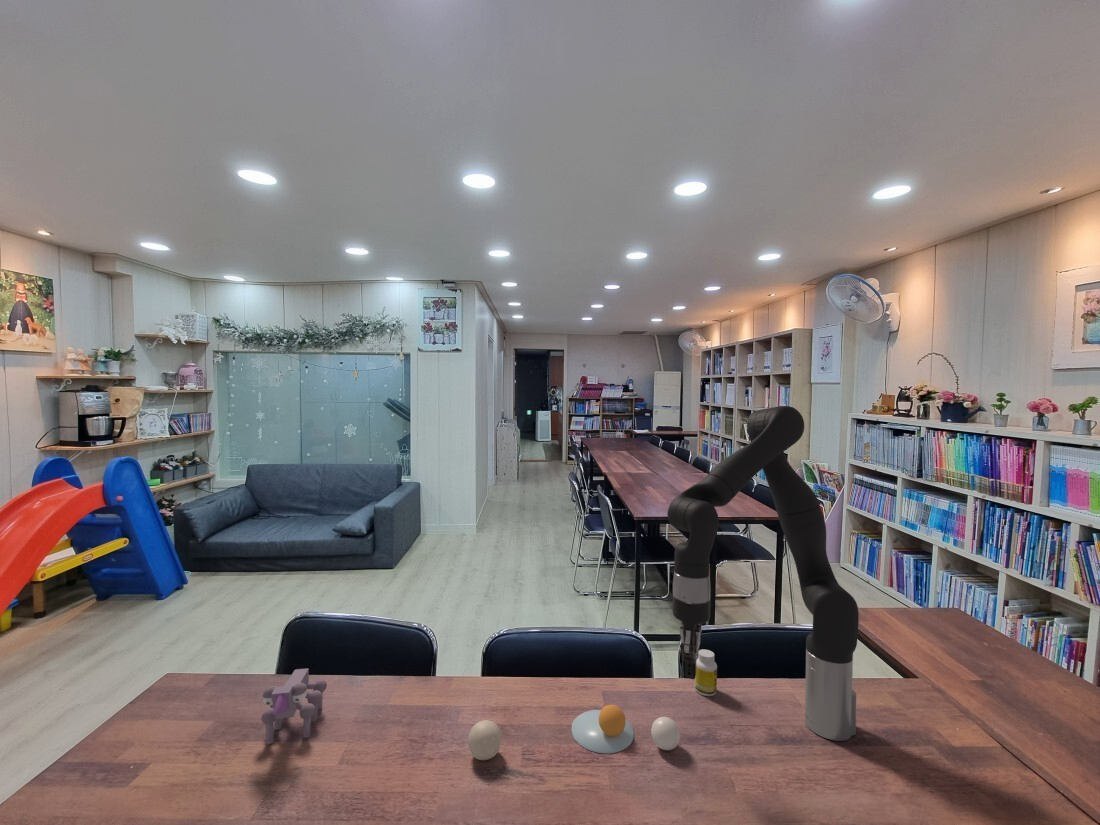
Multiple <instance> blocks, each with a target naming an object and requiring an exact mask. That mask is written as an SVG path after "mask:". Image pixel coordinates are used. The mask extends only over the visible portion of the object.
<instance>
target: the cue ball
mask: <svg viewBox="0 0 1100 825" xmlns="http://www.w3.org/2000/svg"><path fill="white" fill-rule="evenodd" d="M650 731H651V733H650V734H651V738H652V740H653V742H654V744H655V745H656V746H657V747H658V748H659V749H661V750H664V751H672V750H674V749H675V748H676V747H677V746H678V745H679V742H680V739H681V734H680V728H679V727H678V725H677V723H676V722H675V721H674V720H673V719H672V718H670V717H668V716H660V717H658V718H655V720H654V721H653V723H652V725H651V730H650Z"/></svg>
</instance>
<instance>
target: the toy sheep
mask: <svg viewBox="0 0 1100 825" xmlns="http://www.w3.org/2000/svg"><path fill="white" fill-rule="evenodd" d="M309 670H310V669H309V668H296V669H294V670H293V672H292V673H291V675H290V677H289V679H288V680H287V682H286V683H284V684H283V685H281V686H276V685H269V686H268V687H267V688H266V689H264V691H263V693H262V701H263V702H262V703H264V705H266V706H269V708H267V709H265V710H264V711H263V712H262V714H261V721H262V723H263V724H264V725H265V737H266V738H265V739H266V741H265V742H266V743H265V744H266V745H271V744H273V743H274V738H275V737H274V731H278V730H281V729H282V719H286V718H294V717H295V714H296V712H297V710H298V712H299V716H300V718H301V719H303V726H302V728H303V729H302V730H303V731H302V738H305V739H307V738H309V737H310V736H311V723H315V721H316V720H317V721H318V713H319V712H318V711H320V710H321V708H322V709H323V699H324V698H323V695H324V692H325V691H326V690H327V686H328V684H327V681H326V680H325V679H321V678H320V679H318V680H316V681H315V682H310V680H309V679H310V677H309V676H310V675H309V673H310V672H309ZM308 690H309V691H308ZM310 690H313V691H310ZM304 699H307V703H306V704H304V703H303V701H304ZM319 709H320V710H319ZM317 721H316V722H317Z"/></svg>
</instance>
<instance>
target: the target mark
mask: <svg viewBox="0 0 1100 825" xmlns="http://www.w3.org/2000/svg"><path fill="white" fill-rule="evenodd" d="M601 710H602V709H591V710H587V711H585V712H583V713H581V714H579V715H578V716H576V717H575V718H574V720H573V721H572V724H571V734H572V737H573V738H574V740H575V742H576V743H577V744H579V745H580V746H581V747H582V748H584V749H586V750H588V751H591V752H594V753H598V754H604V755H605V754H606V755H607V754H615V753H620V752H621V751H622V752H623V751H624V750H626V749H627V748H628V747H629V746H631V744H632V742H633V741H634V737H635V730H634V727H633V726H632V724H631V723H630V721H629V720H628V719H626V724H625V728H624V730H623V732H622V733H621V734H620V735H618V736H614V737H613V736H608V735H606V734H605V733H604V732H603V731H602V729H601V728H600V725H599V714H600V711H601Z"/></svg>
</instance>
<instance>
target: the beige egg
mask: <svg viewBox="0 0 1100 825" xmlns="http://www.w3.org/2000/svg"><path fill="white" fill-rule="evenodd" d="M467 739H468V740H467V741H468V749H469V751H470V753H471V755H472V757H473V758H475V759H476V760H478V761H488V760H490V759H492V758H494V757H495V756H496V755H497V754H498V752H499V751H500V748H501V745H502V734H501V731H500V728H499V726H498V725H497V724H496V723H495V722H494V721H493V720H492V721H491V720H487V719H485V720H480V721H478V722H476V723H475V724H474V725H473V726H472V727H471V729H470V731H469V734H468V738H467Z"/></svg>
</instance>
